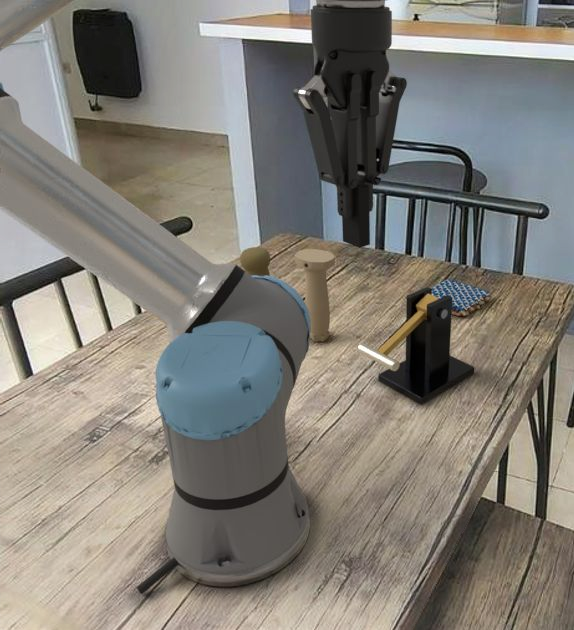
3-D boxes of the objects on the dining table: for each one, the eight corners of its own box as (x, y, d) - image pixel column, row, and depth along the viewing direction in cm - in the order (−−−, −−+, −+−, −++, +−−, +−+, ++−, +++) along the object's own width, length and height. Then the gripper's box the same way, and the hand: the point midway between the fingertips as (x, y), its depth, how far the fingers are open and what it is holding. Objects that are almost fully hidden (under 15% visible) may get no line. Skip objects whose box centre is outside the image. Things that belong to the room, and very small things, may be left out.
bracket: (421, 405, 98) (423, 320, 91) (378, 380, 103) (377, 299, 97) (474, 373, 106) (479, 293, 99) (431, 352, 111) (434, 275, 105)
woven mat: (493, 299, 129) (494, 290, 128) (463, 320, 121) (464, 310, 120) (447, 285, 134) (448, 276, 133) (416, 304, 127) (416, 294, 126)
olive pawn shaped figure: (283, 303, 125) (279, 248, 120) (260, 316, 121) (254, 258, 116) (259, 295, 128) (254, 241, 123) (235, 307, 124) (229, 251, 119)
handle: (327, 349, 111) (323, 264, 104) (294, 340, 114) (288, 256, 107) (343, 336, 115) (340, 254, 108) (311, 327, 118) (306, 246, 111)
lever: (394, 375, 92) (390, 364, 91) (360, 356, 97) (355, 345, 95) (454, 315, 98) (451, 303, 97) (419, 299, 102) (415, 288, 101)
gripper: (322, 7, 56) (332, 269, 67) (428, 4, 65) (422, 237, 76) (268, 2, 61) (286, 248, 72) (374, 0, 69) (376, 220, 80)
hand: (356, 242), depth 74 cm, fingers closed
